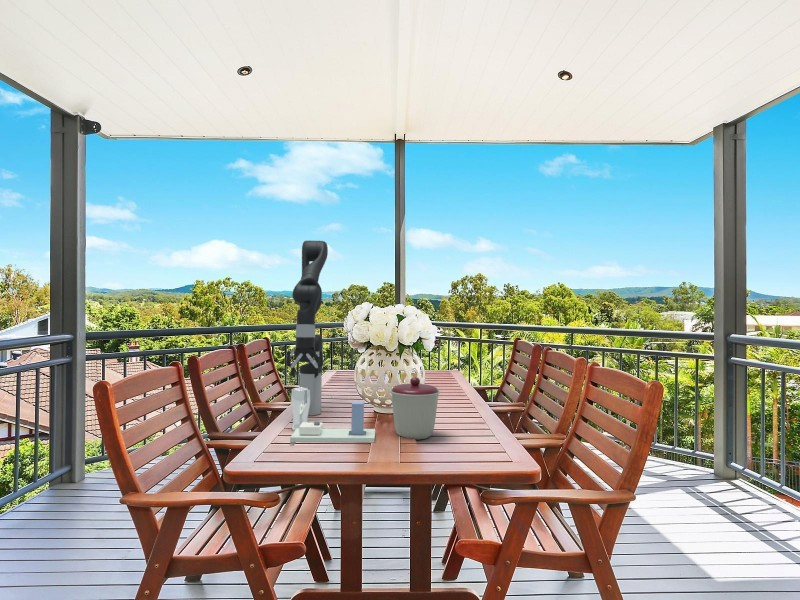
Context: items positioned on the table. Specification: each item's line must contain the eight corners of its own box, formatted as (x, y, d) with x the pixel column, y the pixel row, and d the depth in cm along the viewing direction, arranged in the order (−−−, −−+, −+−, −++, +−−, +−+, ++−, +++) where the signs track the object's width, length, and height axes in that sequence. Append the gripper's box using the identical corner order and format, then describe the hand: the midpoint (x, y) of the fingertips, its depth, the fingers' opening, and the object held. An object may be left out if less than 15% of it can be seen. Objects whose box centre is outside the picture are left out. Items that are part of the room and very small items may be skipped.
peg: (351, 435, 184) (352, 401, 184) (363, 436, 184) (363, 401, 184) (351, 439, 180) (351, 403, 180) (363, 439, 180) (363, 404, 180)
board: (296, 435, 187) (296, 428, 187) (375, 435, 188) (375, 428, 188) (290, 444, 175) (290, 437, 175) (374, 445, 176) (374, 437, 176)
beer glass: (286, 429, 195) (287, 389, 195) (298, 425, 201) (299, 386, 201) (301, 432, 192) (302, 391, 192) (313, 428, 198) (314, 388, 198)
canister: (382, 431, 194) (383, 374, 194) (428, 428, 200) (429, 372, 200) (398, 445, 177) (399, 382, 177) (447, 441, 183) (448, 380, 183)
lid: (302, 429, 185) (302, 419, 185) (322, 429, 185) (322, 420, 185) (299, 434, 178) (299, 424, 178) (319, 434, 178) (320, 424, 178)
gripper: (324, 336, 211) (323, 376, 210) (288, 335, 211) (288, 376, 210) (322, 336, 204) (321, 378, 203) (285, 336, 203) (284, 378, 202)
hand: (304, 377), depth 206 cm, fingers open, 8 cm apart
